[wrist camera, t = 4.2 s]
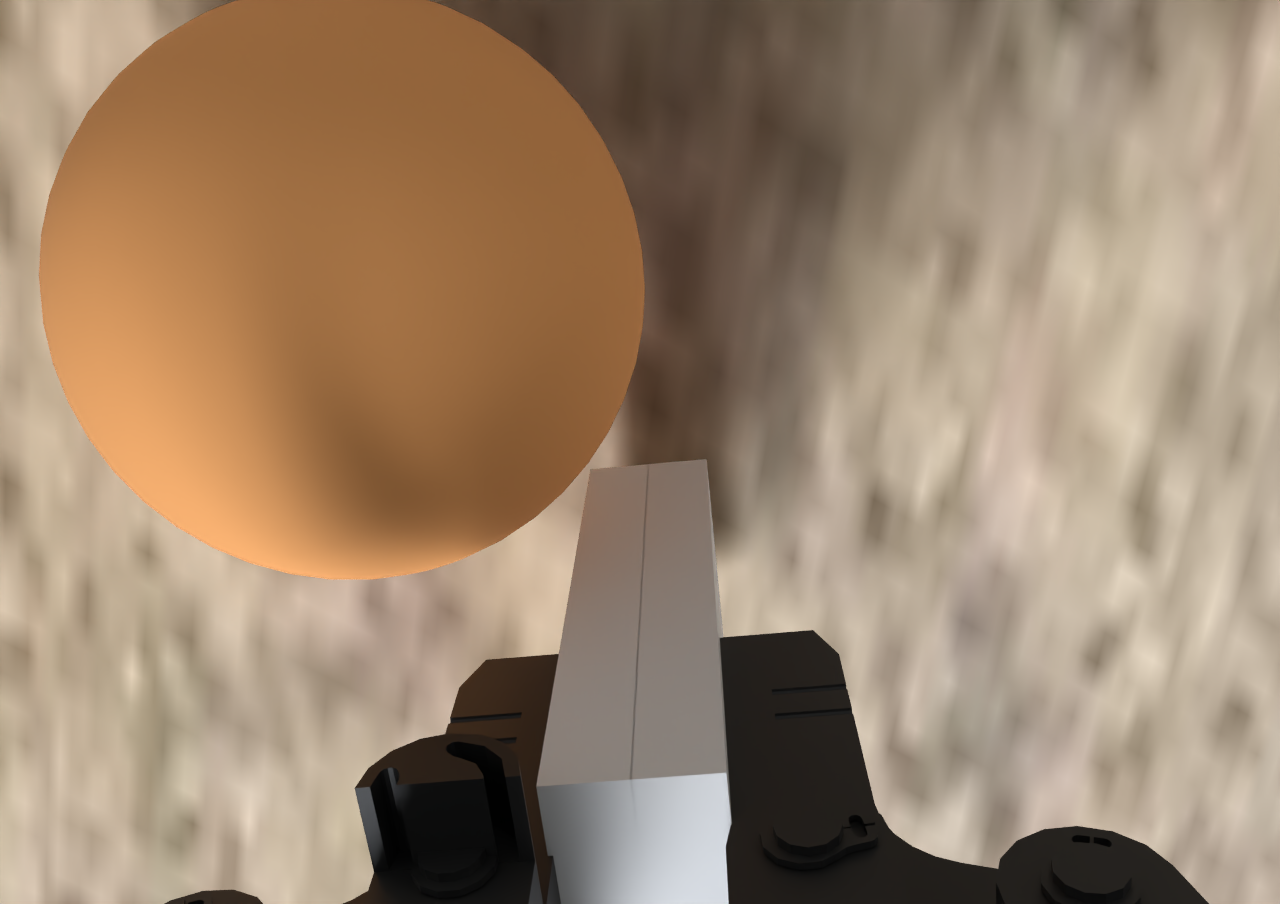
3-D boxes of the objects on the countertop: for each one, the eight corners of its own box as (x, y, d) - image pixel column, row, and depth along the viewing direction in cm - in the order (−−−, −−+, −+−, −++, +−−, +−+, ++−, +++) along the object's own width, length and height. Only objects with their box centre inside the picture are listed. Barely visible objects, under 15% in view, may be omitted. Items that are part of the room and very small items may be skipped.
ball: (333, 560, 17) (204, 131, 16) (753, 456, 15) (621, -26, 15) (6, 715, 11) (-208, 55, 10) (629, 572, 9) (403, -217, 9)
